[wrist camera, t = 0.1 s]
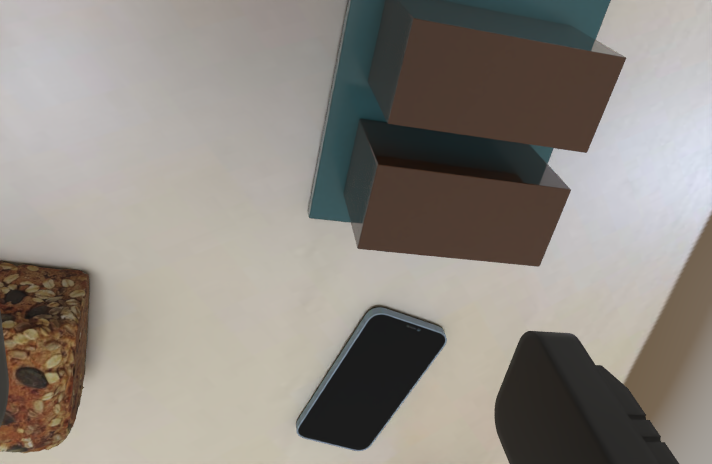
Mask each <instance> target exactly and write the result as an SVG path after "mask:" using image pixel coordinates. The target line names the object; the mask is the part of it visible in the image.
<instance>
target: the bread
mask: <svg viewBox="0 0 712 464" xmlns="http://www.w3.org/2000/svg"><path fill="white" fill-rule="evenodd" d="M88 308H89V276H88V274H85V273H83V272H82V271H80V270H72V269H62V270H59V269H53V268H43V267H37V266H34V265H27V264H22V265H17V266H16V265H14V264H11V263H7V262H2V261H0V312H1V319H2V327H3V336H4V344H5V352H6V360H7V369H8V377H9V393H8V401H7V407H6V411H5V415H4V418H3V421H2V424H1V427H0V451H7V452H21V453H27V452H34V451H41V450H43V449H46V450H49V449H51V448H52V447H54V446H58V445H59V444H60V443H62V442H63V441H64V440H65V439H66V438H67V435H68V434H69V433H70V430H71V428H72V427H73V424H74V422H75V419H76V415H77V411H78V406H79V405H80V398H81V396H82V395H81V394H82V389H83V388H84V387H83V380H84V375H85V357H86V344H87V326H88Z"/></svg>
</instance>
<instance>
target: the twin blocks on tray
mask: <svg viewBox="0 0 712 464" xmlns="http://www.w3.org/2000/svg"><path fill="white" fill-rule="evenodd" d="M610 1H611V0H348V4H347V10H346V15H345V20H344V25H343V30H342V36H341V41H340V46H339V51H338V57H337V62H336V67H335V72H334V77H333V83H332V88H331V93H330V98H329V104H328V109H327V114H326V119H325V124H324V130H323V135H322V140H321V145H320V151H319V156H318V161H317V166H316V171H315V177H314V182H313V187H312V192H311V198H310V203H309V208H308V215H309V218H314V219H323V220H332V221H341V222H351V225H352V229H353V233H354V237H355V240H356V244H357V248H358V249H366V250H376V251H386V252H397V253H407V254H417V255H427V256H437V257H447V258H457V259H467V260H477V261H488V262H498V263H508V264H518V265H528V266H540V264H541V261H542V259H543V256H544V254H545V252H546V249H547V247H548V244H549V242H550V240H551V237H552V235H553V232H554V230H555V227H556V225H557V223H558V220H559V218H560V215H561V213H562V211H563V208H564V206H565V203H566V201H567V199H568V196H569V194H570V191H571V189H570V188H569V187H568V186H567V185H566V184H565V183H564V182H563V181H562V179H561V178H560V177H559V176H558V175H557V174H556V173H555V172H554V171H553V170H552V169H551V167H550V166H549V165H548V161H549V159H550V156H551V153H552V151H553V148H557V149H564V150H571V151H578V152H585V153H587V151H588V149H589V146H590V144H591V142H592V139H593V137H594V134H595V132H596V130H597V127H598V125H599V122H600V120H601V118H602V115H603V113H604V110H605V108H606V105H607V103H608V101H609V98H610V96H611V93H612V91H613V89H614V86H615V84H616V81H617V79H618V77H619V74H620V72H621V69H622V67H623V65H624V62H625V60H626V57H624V56H622V55H620V54H619V53H617V52H615V51H614V50H612V49H610V48H609V47H607V46H605V45H603V44H602V43H600V42H598V41H597V40H596V37H597V34H598V32H599V29H600V27H601V24H602V21H603V19H604V16H605V14H606V11H607V8H608V6H609V3H610Z"/></svg>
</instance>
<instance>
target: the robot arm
mask: <svg viewBox="0 0 712 464" xmlns="http://www.w3.org/2000/svg"><path fill="white" fill-rule="evenodd" d="M8 393H9V377H8V369H7V360H6V352H5V344H4V336H3V327H2V319H1V312H0V427H1V424H2V421H3V418H4V415H5V411H6V407H7V401H8ZM645 416H646V414H645V413H644V411H643V410H642V408H641V407H640V405H639V404H638V403H637V401H636V400H635V398H634V397H633V395H632V394H631V392H630V391H629V389H628V388H627V387H625V386H624V385H623V384H622V383H621V382H620V381H619V380H618V379H616V378H615V377H614V376H613V375H612V374H611V373H610V372H608V371H607V370H606V369H605V368H604V367H603V366H600V365H595V364H594V362H593V361H592V359H591V358H590V356H589V355H588V353H587V351H586V350H585V348H584V347H583V345H582V344H581V342H580V341H579V339H578V338H577V337H576V336H575V335H573V334H570V333H556V332H538V331H527V332H526V333H524V334H523V335H522V337H521V338H520V340H519V343H518V345H517V348H516V350H515V353H514V355H513V358H512V360H511V363H510V365H509V368H508V370H507V373H506V375H505V378H504V380H503V383H502V385H501V388H500V390H499V393H498V395H497V398H496V403H495V425H496V430H497V434H498V436H499V439H500V441H501V444H502V446H503V449H504V451H505V454H506V456H507V458H508V461H509V463H510V464H679V463H678V461H677V460H676V459H675V457H674V456H673V454H672V453H671V451H670V450H669V448H668V447H667V445H666V444H665V443H664V442H661V441H660V437H661V436H660V435H659V434H658V432H657V431H656V429H655V428H654V426H653V425H652V423H651V422H650V420H646V418H645Z"/></svg>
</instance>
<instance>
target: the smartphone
mask: <svg viewBox="0 0 712 464" xmlns="http://www.w3.org/2000/svg"><path fill="white" fill-rule="evenodd" d="M446 341H447V338H446V335H445V333H444V330H443V329H442V328H441V327H439V326H436V325H434V324H431V323H428V322H425V321H422V320H419V319H416V318H413V317H410V316H407V315H404V314H401V313H398V312H395V311H392V310H389V309H386V308H382V307H378V308H374V309H371V310H370V311H369V312H368V313H367V314H366V315H365V317H364V318H363V320H362V321H361V323H360V324H359V326H358V327H357V329H356V330H355V332H354V334H353V335H352V337H351V338H350V340H349V341H348V343H347V344H346V346H345V347H344V349H343V351H342V352H341V354H340V355H339V357H338V358H337V360H336V361H335V363H334V364H333V366H332V368H331V369H330V371H329V372H328V374H327V375H326V377H325V378H324V380H323V382H322V383H321V385H320V386H319V388H318V389H317V391H316V392H315V394H314V395H313V397H312V399H311V400H310V402H309V403H308V405H307V406H306V408H305V409H304V411H303V412H302V414H301V416H300V417H299V419H298V420H297V423H296V428H297V434H298V435H299V436H300V437H302V438H305V439H309V440H313V441H317V442H321V443H325V444H329V445H334V446H338V447H342V448H346V449H350V450H354V451H363V450H366V449H367V448H369V447H370V446H371V445H372V444H373V442H374V441H375V440H376V438H377V437H378V435H379V434H380V433H381V431H382V430H383V429H384V427H385V426H386V425H387V423H388V422H389V421H390V419H391V418H392V417H393V415H394V414H395V412H396V411H397V410H398V408H399V407H400V406H401V404H402V403H403V402H404V400H405V399H406V398H407V396H408V395H409V393H410V392H411V391H412V389H413V388H414V387H415V385H416V384H417V383H418V381H419V380H420V379H421V377H422V376H423V374H424V373H425V372H426V370H427V369H428V368H429V366H430V365H431V364H432V362H433V361H434V360H435V358H436V357H437V356H438V354H439V353H440V351H441V350H442V349H443V347H444V346H445V344H446Z"/></svg>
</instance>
